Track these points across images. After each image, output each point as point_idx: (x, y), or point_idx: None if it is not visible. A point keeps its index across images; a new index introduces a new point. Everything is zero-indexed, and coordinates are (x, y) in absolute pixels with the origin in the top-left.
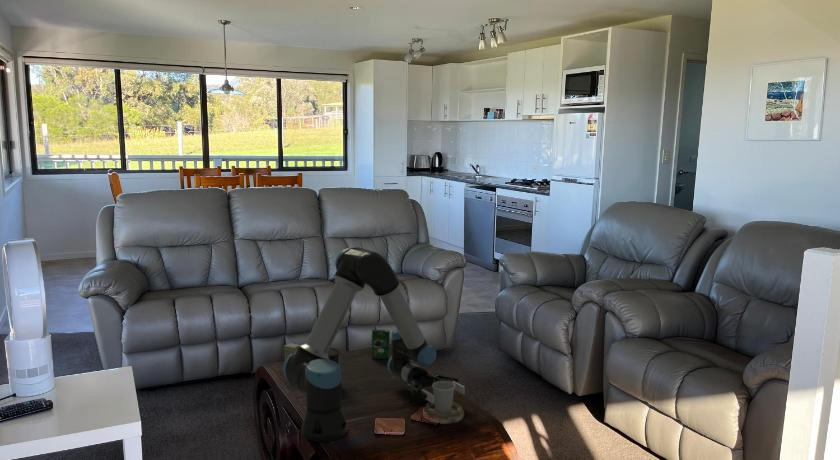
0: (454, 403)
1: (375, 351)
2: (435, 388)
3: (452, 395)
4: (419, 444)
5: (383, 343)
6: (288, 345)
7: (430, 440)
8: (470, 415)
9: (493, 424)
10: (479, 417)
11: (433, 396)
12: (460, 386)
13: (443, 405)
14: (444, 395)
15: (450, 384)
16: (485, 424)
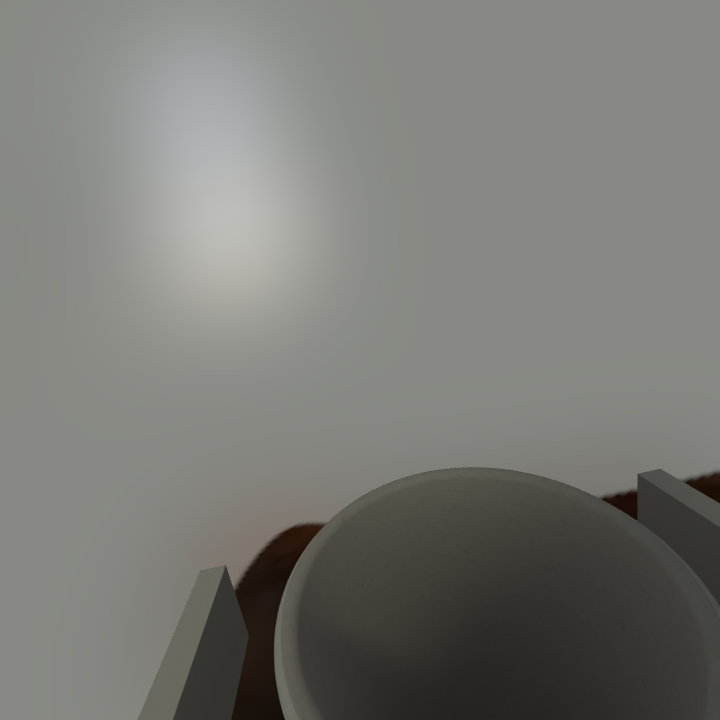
0: None
1: None
2: (629, 517)
3: (395, 578)
4: (700, 484)
5: None
6: None
7: (637, 500)
8: (275, 707)
9: (262, 551)
10: (251, 647)
11: (646, 480)
12: (213, 618)
13: (518, 651)
14: (500, 538)
15: (309, 672)
16: (294, 561)
